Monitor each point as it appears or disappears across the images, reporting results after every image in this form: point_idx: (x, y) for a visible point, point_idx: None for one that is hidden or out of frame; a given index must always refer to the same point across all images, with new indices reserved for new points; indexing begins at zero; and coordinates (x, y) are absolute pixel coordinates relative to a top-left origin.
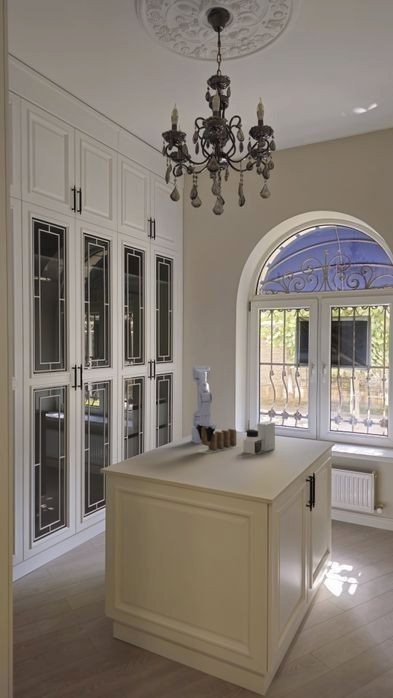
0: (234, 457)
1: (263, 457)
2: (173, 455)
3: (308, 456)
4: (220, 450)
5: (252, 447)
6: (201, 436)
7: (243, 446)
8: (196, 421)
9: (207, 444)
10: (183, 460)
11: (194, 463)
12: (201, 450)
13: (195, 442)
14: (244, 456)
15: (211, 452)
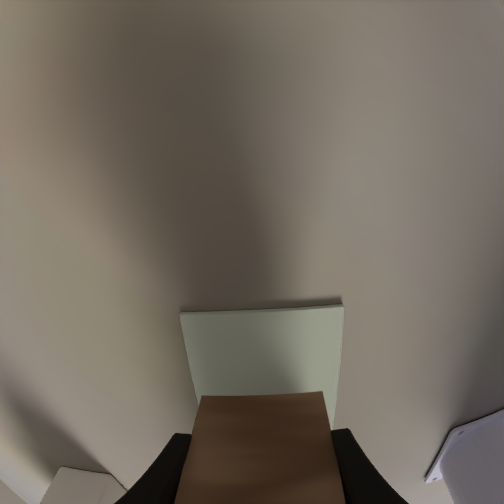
0: (34, 385)
1: (18, 446)
2: (366, 20)
3: (20, 493)
4: None
5: (55, 490)
6: (334, 471)
7: (98, 499)
8: None
9: (202, 407)
10: (145, 2)
11: (30, 55)
12: (321, 353)
13: (494, 414)
14: (42, 426)
15: (198, 376)
